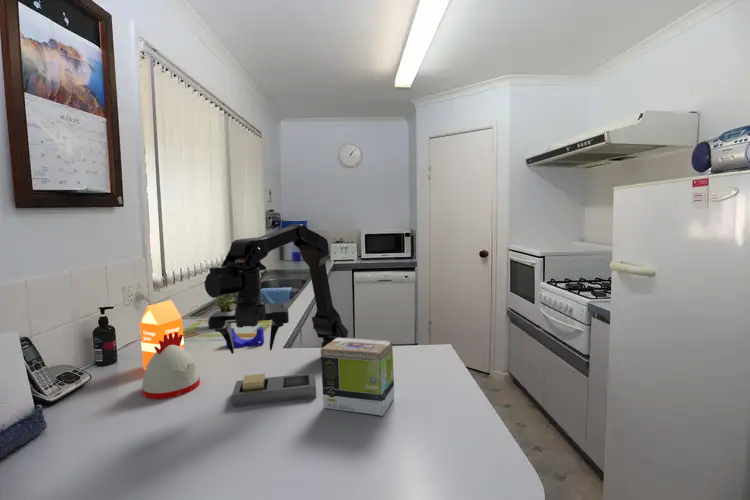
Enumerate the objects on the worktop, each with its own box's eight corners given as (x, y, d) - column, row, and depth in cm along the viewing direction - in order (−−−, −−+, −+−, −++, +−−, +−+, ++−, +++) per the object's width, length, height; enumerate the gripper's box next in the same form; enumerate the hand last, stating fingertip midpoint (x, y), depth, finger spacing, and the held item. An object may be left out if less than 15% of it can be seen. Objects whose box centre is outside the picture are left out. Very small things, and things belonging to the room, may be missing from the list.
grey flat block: (314, 383, 110) (314, 372, 109) (316, 397, 101) (315, 385, 101) (237, 392, 106) (236, 380, 105) (232, 407, 97) (231, 395, 97)
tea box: (395, 398, 100) (393, 339, 98) (382, 417, 90) (380, 353, 89) (339, 391, 105) (337, 335, 103) (321, 409, 95) (319, 347, 94)
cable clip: (226, 348, 142) (225, 331, 141) (230, 344, 146) (229, 328, 145) (261, 347, 142) (260, 330, 142) (264, 343, 147) (263, 326, 146)
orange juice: (143, 369, 123) (137, 305, 122) (167, 359, 132) (162, 299, 130) (161, 372, 120) (156, 306, 119) (185, 362, 129) (181, 300, 127)
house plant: (197, 330, 165) (194, 290, 164) (216, 321, 179) (213, 284, 177) (230, 330, 163) (227, 290, 161) (246, 321, 177) (244, 284, 175)
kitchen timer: (210, 381, 113) (207, 329, 112) (167, 403, 101) (162, 344, 99) (176, 374, 119) (172, 324, 118) (130, 394, 107) (126, 338, 105)
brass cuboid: (265, 392, 105) (264, 373, 105) (264, 400, 101) (263, 381, 100) (245, 394, 104) (244, 375, 104) (243, 403, 100) (242, 383, 99)
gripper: (201, 299, 90) (205, 366, 92) (286, 293, 94) (289, 359, 95) (211, 290, 101) (214, 350, 103) (287, 285, 105) (290, 344, 106)
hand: (251, 351), depth 101 cm, fingers open, 9 cm apart
